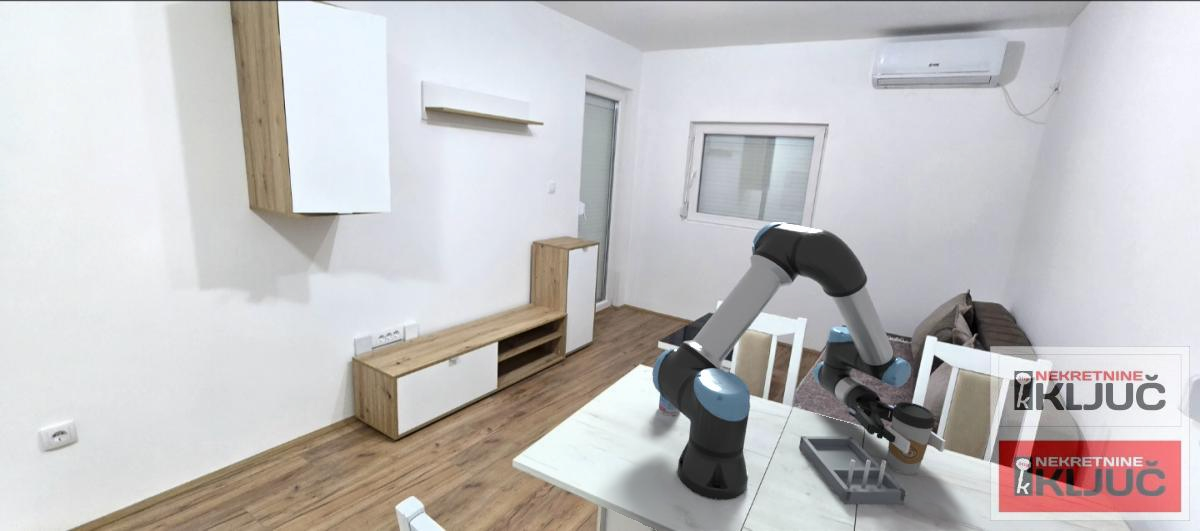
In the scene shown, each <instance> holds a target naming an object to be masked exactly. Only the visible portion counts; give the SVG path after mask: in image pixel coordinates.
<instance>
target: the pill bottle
mask: <svg viewBox="0 0 1200 531" xmlns="http://www.w3.org/2000/svg"><path fill="white" fill-rule="evenodd" d="M658 402H659V403H658V410H659V411H660V413H662V414H664V415H667V416H677V415H679V414H680V413H681V412H680V411H679V410H678V409H677V408H676V407H674V406H673V405H672V404H671V403H670V402H669V401H667V400H666V399H664V398H663V397H662V395H661V394H660V393H659V400H658Z"/></svg>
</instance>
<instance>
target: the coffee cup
mask: <svg viewBox="0 0 1200 531" xmlns="http://www.w3.org/2000/svg"><path fill="white" fill-rule="evenodd" d="M896 403H897V402H896ZM892 415H893V417H892V422H891V426H890V427H891V428H892V429H893V430H895V431H896V432H897V433H898V434H900V435H901V436H902V437H904V438H905V439H906V440H908V441H909V442H910V447H909V451H908V453H904V452H903V451H901V450H900V449H899V448H898V447H896V446H895V445H894V444H893V443H891V442H890V441H888V447H887V458H886V463H887V464H888V466H889V467H890V468H891V469H892V470H894V471H896V472H898V473H900V474H902V475H903V474H904V475H907V476H914V475H916V474H917V473H918V472H919V470H920V467H921V464H922V461H923V460H924V456H925V453H926V451H927V448H928V444H929V443H928V440H929V437H930V434H931V431H932V432H933V428H934V427H935V422H936V421H935V420H936V419H935V418H934V415H935V414H934V413H933V412H932V410H930V409H928V408H927V407H925V406H922V405H920V404H918V403H913V402H910V401H909V402H907V401H901V402H898V403H897V405H896V406H895V407H894V409H893V412H892Z"/></svg>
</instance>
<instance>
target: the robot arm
mask: <svg viewBox="0 0 1200 531" xmlns="http://www.w3.org/2000/svg"><path fill="white" fill-rule="evenodd" d="M752 243H753V245H752V247H751V253H752V255H751V256H750V257H749V259H750V264H751V265H750V267H749V269H747V271H746V272H745V273H744V274H743V276H742V277H741V278H740V280H739V281H738V282H737V283H736V285H735V286H734V287H733V289H732V290H731V291H730V292H729V293H728V294H727V296H726V298H725V299H724V300H723V301H722V302H721V304H720V305H719V306H718V308H717V309H716V310H715V312H714V313H713V314H712V315H711V316H710V318H708V320H707V321H706V323H705V324H704V325H703V327H702V328H701V329H700V330H699V332H698V333H697V334H696V336H695V337H694V338H693V339H692V340H684V341H683V342H682V343H681V344H680V346H678V348H670V349H669V350H668V349H666V350H664V351H663V352H662V353H661V354H660V355H659V356H658V357H657V359H656V361H655V362H654V364H653V368H652V383H653V385H654V387H655V388H654V389H655V390H657V392H658V393H659V395H660V394H661V395H662V397H663V398H664V399H666V400H667V401H669V402H670V403H671V404H672V405H673V406H674V407H676V408H677V409H678V410H679V411H680V413H681V414H682V415H684V416H685V417H686V418H687V419H688V420H689V422H690V426H689V437H688V440H687V442H686V445H685V446H684V448H683V450H682V451H681V454H680V456H679V458H678V462H677V464H678V465H677V475H678V479H679V481H680V482H681V483H682V484H683V485H684V486H685V488H687V489H688V490H690V491H691V492H693V493H695V494H696V495H699V496H701V497H703V498H707V499H710V500H716V501H729V500H734V499H736V498H738V497H740V496H742V495H743V494H744V493H745V492H746V490H747V488H748V481H749V473H748V468H747V465H746V459H745V455H744V454H745V453H744V447H745V439H746V434H747V428H748V421H749V414H750V411H751V410H750V409H751V402H750V400H751V392H750V389H749V386H748V385H747V383H746V382H745V381H744V380H743V379H742V378H741V377H740V376H738V375H736V374H734V373H733V372H731V371H725V370H724V369H723V365H722V364H723V361H724V360H725V359H726V358H727V357H728V356H729V354H730V353H731V351H733V349H734V348H735V346H737V344H738V343H739V341H741V340H740V339H742V337H743V336H744V335H745V334H746V332H747V331H748V330H749V328H750V327H751V326H752V324H753V323H754V322H755V320H756V319H757V318H758V317H759V316H760V314H761V313H762V312H763V310H764V309H765V307H766V306H767V305H768V304H769V303H770V301H771V300H772V299H773V298H774V296H775V295H776V294H777V292H779V290H780V288H781V287H787V286H788V287H790V286H791V285H792V284H793V282H794V281H795V280H796V278H797V277H798V276H800V277H805V278H808V279H811V280H812V281H814V282H816V283H818V284H819V285H820V287H821V288H822V290H823V292H824V294H826V295H827V296H828V297H831V298H832V300H833V302H834V305H835V306H836V308H837V310H838V313H839V314H840V315H839V316H840V318H841V319H842V321H843V323H844V325H845V326H833V327H831V328H830V329H829V332H828V335H827V336H828V338H827V340H826V346H825V351H824V352H825V353H824V357H823V359H824V360H823V361H820V362H819V363H818V364H817V365H816V366H815V368H814V369H813V378H814V380H815V382H816V383H817V384H819V386H820V387H821V388H822V389H824V390H826V391H827V392H828V393H830V394H831V395H833V396H834V397H835V398H836V399H837V400H839V401H840V402H841V403H843V405H845V406H846V407H848V409H849V410H848V414H849V415H850V416H852V417H853V418H854V419H855V420H856V421H857V422H858V423H859V424H860V425H861V426H862V427H863V429H865V431H866V432H868V434H869V435H875V434H876V438H878V439H880V440H881V439H883V438H884V439H885V440H886V441H888V442H889V441H890V442H891V443H893V444H894V445H895V446H896V447H898V448H899V449H900V450H901V451H903V452H904V453H908V451H909V447H910V442H909V441H908V440H906V439H905V438H904V437H902V436H901V435H900V434H898V433H897V432H896V431H895V430H893V429H892V428H891V426H888V425H887V426H886V425H885V423H884V422H883V421H882V420H884V421H887V422H889V423H892V417H893V415H892V412H893V409H894V407H895V406H896V405H897V402H893V403H892V404H893V405H889V404H888V403H886V402H883V401H882V400H881V399H880V396H879V394H878V393H877V392H876V391H874V390H873V389H871V388H870V387H868V386H867V385H866V384H864V383H863V382H861V380H858V379H857V378H856V377H854V376H853V375H852V372H853V370H855V371H858V372H860V373H862V374H864V375H866V376H868V377H870V378H872V379H874V380H877V381H878V382H880V383H881V384H885V385H888V386H890V387H893V388H900V387H902V386H903V385H904V384H906V382H907V381H908V380H909V378H910V376H911V373H912V367H911V364H910V362H908V361H907V360H905V359H903V357H900V356H899V357H898V356H897V355H896V354H895V352H894V349H893V347H892V344H891V342H890V339H889V338H888V335H887V333H886V331H885V328H884V326H883V324H882V321H881V319H880V317H879V314H878V312H877V310H876V308H875V305H874V303H873V301H872V300H873V299H872V298H871V295H870V293H869V291H868V288H867V287H866V285H867V284H868V276H867V273H866V271H865V268H864V266H863V265H862V263H861V261H860V260H859V258H858V256H857V255H856V254H855V253H854V251H853V250H852V249H851V248H850V246H849V245H848V244H847V243H846V242H845V241H844V240H843V239H841V237H839V236H838V235H836V234H835V233H833V232H831V231H828V230H826V229H821V228H814V227H808V226H805V225H804V226H803V225H797V224H795V223H792V222H787V221H785V222H781V221H777V222H775V221H774V222H771V223H768V224H766V225H764V226H763V227H762V228H761V229H760V230H759V231H758V232H757V233H756V235H755V236H754V238H753V240H752ZM928 444H929V445H930V446H932V447H933V448H935V449H936V450H937V451H938V452H941V453H942V452H944V449H945V447H946V445H945V444H946V440H945V439H944V438H942V437H941V436H939V435H938V434H936V433H935V432H934V431H933V430H932V431H931V434H930V437H929V440H928Z"/></svg>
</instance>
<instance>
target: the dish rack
mask: <svg viewBox="0 0 1200 531" xmlns="http://www.w3.org/2000/svg"><path fill="white" fill-rule="evenodd" d="M798 446H799V448H800V450H801V451H802V452H803V453H804V455H805V456H806V457H807V459H808V461H810V462H811V464H812V465H813V466H814V467H815V470H816V471H817V472H818V473H819V474H820V476H822V478H823V479H824V481H826V483H827V484H828V485H829V487H830V488H831V489H832V491H833V492H834V493H835V494H836V495H837V497H838V498H839V499H840V501H841V502H842V503H843V504H844V505H904V504H905V499H906V495H907V491H906V490H905V489H904V488H903V487H902V486H901V485H900V484H899V483H898V482H897V481H896V480H895V479H894V478H893V477H892V476H891V475H890V474H889V473H888V472H887V471H886V470H885V469H886V465H887V460H885V459H882V460H881V464H879V463H878V462H877V461H876V460H875V459H874V458H873V457H872V456H871V455H870V454H869V453H868V452H867V451H866V450H865V449H864V448H863V447H862V446H861V445H860V444H859V443H858V442H857V441H856V440H855V439H854V438H853V437H852V436H826V435H825V436H819V435H817V436H816V435H815V436H813V435H812V436H811V435H810V436H809V435H800V440H799V445H798Z"/></svg>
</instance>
